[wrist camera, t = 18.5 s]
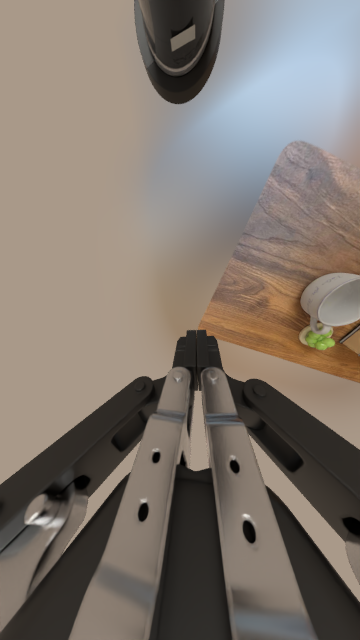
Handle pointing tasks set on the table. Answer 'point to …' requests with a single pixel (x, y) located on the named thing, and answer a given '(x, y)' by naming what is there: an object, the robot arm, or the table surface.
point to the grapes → (316, 338)
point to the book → (353, 340)
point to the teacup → (332, 301)
